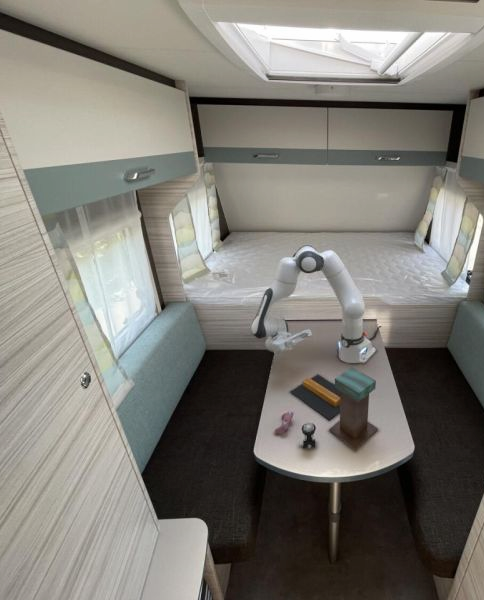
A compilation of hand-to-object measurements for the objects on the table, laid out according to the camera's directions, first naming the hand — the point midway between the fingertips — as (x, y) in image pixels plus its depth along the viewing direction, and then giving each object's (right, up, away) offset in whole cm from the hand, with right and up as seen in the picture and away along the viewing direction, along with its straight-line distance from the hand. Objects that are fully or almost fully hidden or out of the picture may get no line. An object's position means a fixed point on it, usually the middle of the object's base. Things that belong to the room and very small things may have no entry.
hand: (301, 338), depth 151 cm
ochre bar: (+9, -27, +2) cm, 28 cm away
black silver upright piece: (+5, -39, -24) cm, 46 cm away
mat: (+10, -27, +2) cm, 29 cm away
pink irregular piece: (-5, -35, -15) cm, 39 cm away
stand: (+23, -36, -17) cm, 46 cm away
